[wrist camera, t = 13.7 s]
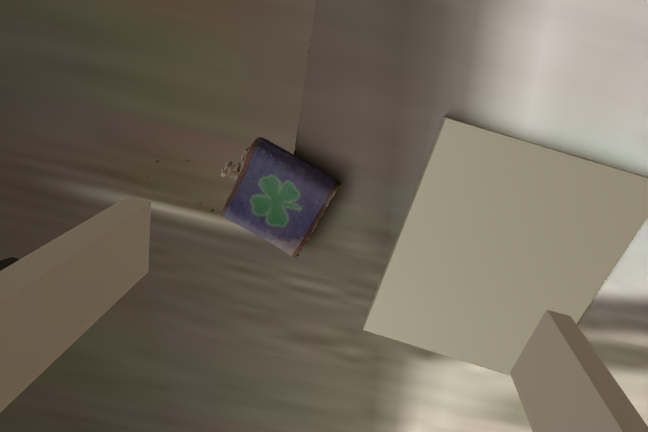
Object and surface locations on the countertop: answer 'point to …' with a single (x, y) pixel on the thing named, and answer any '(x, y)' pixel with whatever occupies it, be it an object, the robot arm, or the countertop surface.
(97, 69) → the countertop surface
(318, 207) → the flask
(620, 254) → the beige flat panel
